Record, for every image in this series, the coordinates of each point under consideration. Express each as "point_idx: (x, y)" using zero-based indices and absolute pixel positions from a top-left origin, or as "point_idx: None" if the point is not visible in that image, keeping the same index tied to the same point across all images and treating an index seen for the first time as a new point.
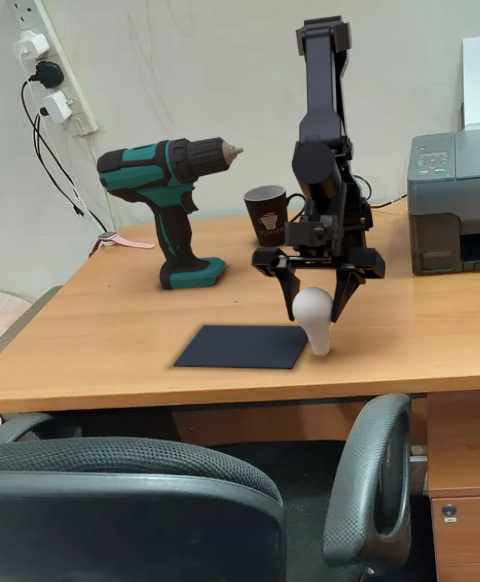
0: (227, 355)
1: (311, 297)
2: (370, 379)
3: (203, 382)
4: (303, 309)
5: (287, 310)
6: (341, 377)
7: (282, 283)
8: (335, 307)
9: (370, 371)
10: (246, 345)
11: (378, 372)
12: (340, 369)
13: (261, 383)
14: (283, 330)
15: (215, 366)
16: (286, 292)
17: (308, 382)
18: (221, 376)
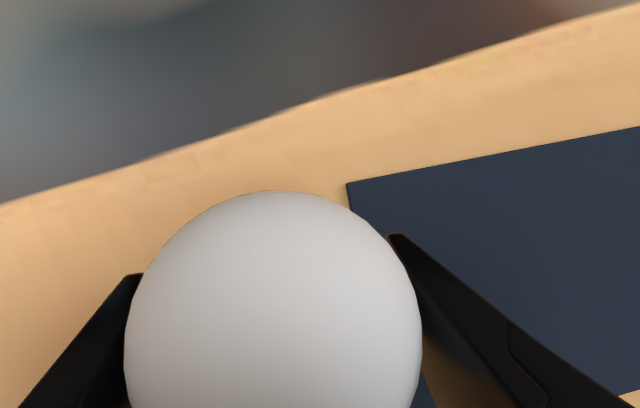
0: (592, 196)
1: (224, 280)
2: (46, 192)
3: (576, 57)
4: (278, 201)
5: (431, 257)
6: (155, 180)
7: (600, 404)
8: (89, 337)
9: (65, 238)
10: (567, 267)
11: (32, 239)
12: (179, 223)
13: (401, 90)
14: None
15: (592, 135)
16: (508, 345)
17: (254, 128)
18: (543, 97)
